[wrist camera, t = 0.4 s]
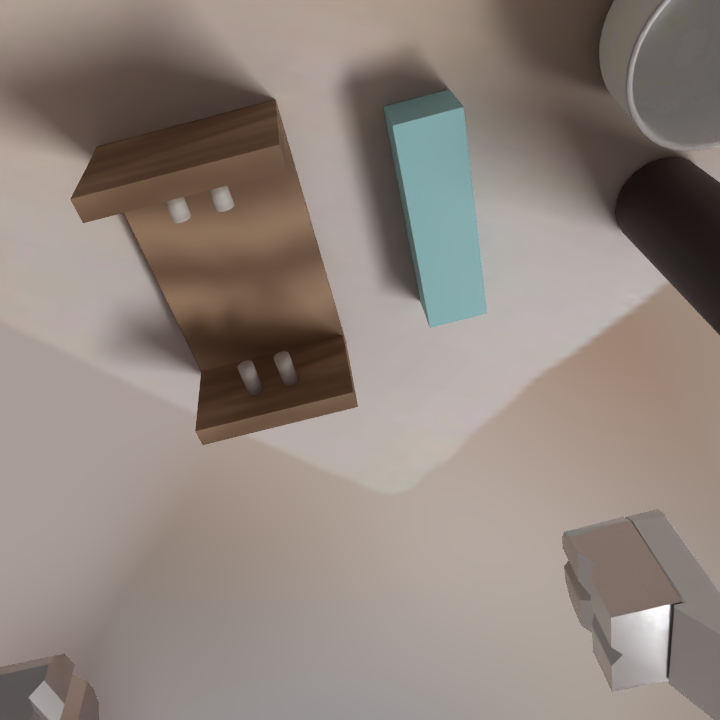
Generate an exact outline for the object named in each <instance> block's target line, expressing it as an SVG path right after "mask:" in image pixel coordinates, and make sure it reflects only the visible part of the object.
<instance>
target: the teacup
mask: <svg viewBox="0 0 720 720" xmlns="http://www.w3.org/2000/svg"><path fill="white" fill-rule="evenodd" d="M599 61H600V69H601V73H602V77H603V80H604V83H605V85H606V87H607V89H608V91H609V93H610V94H611V96H612V98H613V99H614V100H615V102H616V103H617V104H618V105H619V106H620V108H621V109H622V110H623V111H624V112H625V113H626V114H627V115H628V116H629V117H630V118H631V119H632V120H633V121H634V123H635V125H636V126H637V127H638V129H639V130H640V131H641V132H642V133H643V134H644V135H645V136H646V137H647V138H648V139H650V140H651V141H652V142H654V143H656V144H658V145H660V146H663V147H665V148H668V149H672V150H677V151H699V150H704V149H710V148H715V147H718V146H720V0H614V2H613V3H612V5H611V8H610V10H609V12H608V14H607V17H606V20H605V22H604V25H603V29H602V33H601V39H600V46H599Z"/></svg>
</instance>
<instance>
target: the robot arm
mask: <svg viewBox="0 0 720 720" xmlns="http://www.w3.org/2000/svg"><path fill="white" fill-rule="evenodd" d="M562 543H563V549H564V552H565V554H566V556H567V558H568V560H569V561H568V562H567V564H566V565H565V566H564V570H565V579H566V584H567V588H568V592H569V596H570V599H571V602H572V604H573V607H574V610H575V612H576V614H577V617H578V619H579V621H580V623H581V625H582V626H583V627H584V628H586V629H587V630H589V631H590V632H592V637H593V652H594V654H595V656H596V658H597V660H598V663H599V665H600V667H601V669H602V671H603V673H604V675H605V677H606V680H607V682H608V684H609V686H610V688H611V690H612V691H618V690H623V689H628V688H633V687H638V686H643V685H647V684H652V683H657V682H662V681H666V680H669V684H670V685H671V686H673V687H674V688H675V689H676V690H678V691H679V692H680V693H681V694H683V695H684V696H685V697H686V698H688V699H689V700H690V701H692V702H693V703H694V704H695V705H696V706H698V707H699V708H700V709H701V710H703V711H704V712H705V713H706V714H708V715H709V716H710V717H711V718H713V719H714V720H720V591H719V590H718V589H717V587H716V586H715V584H714V583H713V581H712V580H711V579H710V577H709V576H708V574H707V573H706V572H705V570H704V569H703V567H702V566H701V565H700V563H699V562H698V561H697V559H696V558H695V556H694V555H693V553H692V552H691V551H690V549H689V548H688V546H687V545H686V544H685V542H684V541H683V539H682V538H681V536H680V535H679V534H678V532H677V531H676V530H675V528H674V527H673V525H672V524H671V522H670V521H669V520H668V518H667V517H666V515H665V514H664V513H663V512H661V511H660V510H658V509H657V510H652V511H648V512H644V513H640V514H636V515H632V516H628V517H625V518H624V517H620V518H617V519H613V520H609V521H605V522H601V523H597V524H593V525H589V526H586V527H582V528H578V529H574V530H570V531H566V532H564V533H563V536H562ZM74 667H75V664H74V663H73V662H72V661H71V660H70V659H69V658H68V656H67V655H66V654H60V655H55V656H51V657H46V658H41V659H36V660H31V661H27V662H22V663H17V664H12V665H8V666H4V667H0V720H99V702H98V699H97V696H96V694H95V691H94V689H93V687H92V686H91V685H90V683H89V682H88V681H87V680H84V679H82V678H79V677H76V676H74V675H73V671H74Z"/></svg>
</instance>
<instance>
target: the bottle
mask: <svg viewBox="0 0 720 720" xmlns="http://www.w3.org/2000/svg"><path fill="white" fill-rule="evenodd" d="M615 212H616V218H617V223H618V226H619V227H620V229H621V230H622V232H623V233H624V234H625V235H626V236H627V237H628V238H629V240H630V241H631V242H632V243H633V244H634V245H635V246H636V247H637V248H638V249H639V250H640V251H641V252H642V253H643V254H644V255H645V256H646V258H647V259H648V260H649V261H650V262H651V263H652V264H653V265H654V266H655V267H656V268H657V269H658V270H659V271H660V272H661V273H662V274H663V276H664V277H665V278H666V279H667V280H668V281H669V282H670V283H671V284H672V285H673V286H674V287H675V288H676V289H677V290H678V291H679V292H680V293H681V295H682V296H683V297H684V298H685V299H686V300H687V301H688V302H689V303H690V304H691V305H692V306H693V307H694V308H695V309H696V310H697V312H698V313H699V314H700V315H701V316H702V317H703V318H704V319H705V320H706V321H707V322H708V323H709V324H710V325H711V326H712V327H713V329H714V330H715V331H716V332H717V333H718V334H719V335H720V183H719V182H718V181H717V180H715V179H714V178H713V177H711V176H710V175H709V174H707V173H706V172H704V171H703V170H702V169H700V168H699V167H698V166H696V165H695V164H693V163H692V162H691V161H689V160H686V159H681V158H676V157H671V158H664V159H659V160H657V161H655V162H652V163H650V164H648V165H646V166H644V167H643V168H642V169H641V170H639V171H638V172H637V173H635V174H634V175H633V176H632V177H631V178H630V180H629V181H628V182H627V183H626V184H625V186H624V187H623V189H622V191H621V193H620V195H619V197H618V200H617V206H616V211H615Z"/></svg>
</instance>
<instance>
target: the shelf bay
mask: <svg viewBox="0 0 720 720" xmlns="http://www.w3.org/2000/svg"><path fill="white" fill-rule="evenodd" d="M71 201H72V203H73V205H74V207H75V209H76V211H77V212H78V214H79V216H80V218H81V220H82V222H83V223H85V222H89V221H93V220H97V219H101V218H105V217H109V216H112V215H116V214H120V213H124V214H125V216H126V218H127V220H128V222H129V224H130V226H131V229H132V231H133V233H134V235H135V237H136V239H137V241H138V243H139V245H140V247H141V249H142V251H143V253H144V255H145V257H146V259H147V261H148V263H149V265H150V267H151V269H152V271H153V274H154V276H155V278H156V280H157V282H158V284H159V286H160V288H161V290H162V292H163V294H164V296H165V298H166V300H167V302H168V304H169V306H170V308H171V310H172V312H173V314H174V316H175V318H176V321H177V323H178V325H179V327H180V329H181V331H182V333H183V335H184V337H185V339H186V341H187V343H188V345H189V347H190V349H191V351H192V353H193V355H194V357H195V359H196V361H197V363H198V365H199V368H200V370H201V380H200V391H199V401H198V411H197V421H196V433H197V435H198V437H199V439H200V441H201V443H202V444H203V445H205V444H209V443H213V442H217V441H221V440H225V439H229V438H233V437H237V436H241V435H245V434H249V433H253V432H257V431H261V430H265V429H269V428H274V427H278V426H282V425H286V424H290V423H294V422H298V421H302V420H306V419H310V418H314V417H318V416H322V415H326V414H330V413H334V412H338V411H342V410H347V409H351V408H355V407H358V405H357V399H356V394H355V389H354V383H353V378H352V372H351V367H350V361H349V356H348V351H347V345H346V341H345V337H344V334H343V330H342V327H341V324H340V320H339V317H338V313H337V310H336V306H335V303H334V299H333V296H332V293H331V289H330V286H329V282H328V279H327V275H326V272H325V268H324V265H323V261H322V258H321V255H320V251H319V248H318V244H317V241H316V237H315V234H314V230H313V227H312V224H311V220H310V217H309V213H308V210H307V206H306V203H305V199H304V196H303V192H302V189H301V186H300V182H299V179H298V175H297V172H296V168H295V165H294V161H293V158H292V155H291V151H290V148H289V144H288V141H287V137H286V134H285V130H284V127H283V123H282V120H281V117H280V113H279V110H278V106H277V103H276V100H273V101H269V102H265V103H261V104H258V105H254V106H250V107H246V108H242V109H239V110H235V111H231V112H227V113H223V114H220V115H216V116H212V117H208V118H205V119H201V120H197V121H193V122H189V123H186V124H182V125H178V126H174V127H171V128H167V129H163V130H159V131H155V132H152V133H148V134H144V135H140V136H136V137H133V138H129V139H125V140H121V141H118V142H114V143H110V144H106V145H102V146H99V147H97V148H96V150H95V152H94V154H93V156H92V158H91V160H90V162H89V164H88V166H87V168H86V170H85V172H84V174H83V176H82V178H81V180H80V181H79V183H78V185H77V187H76V189H75V191H74V193H73V195H72V197H71Z"/></svg>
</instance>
